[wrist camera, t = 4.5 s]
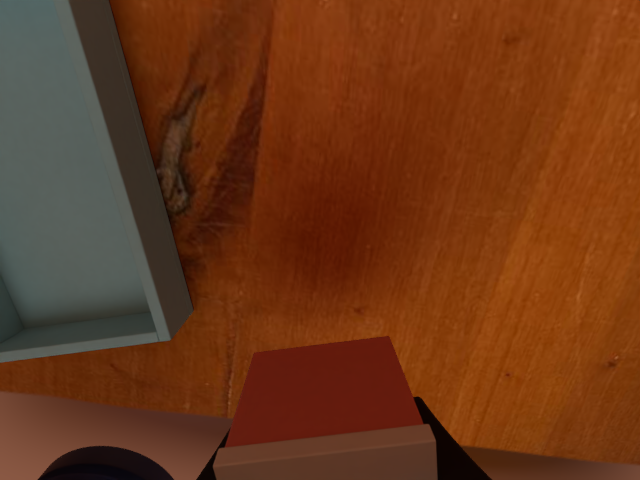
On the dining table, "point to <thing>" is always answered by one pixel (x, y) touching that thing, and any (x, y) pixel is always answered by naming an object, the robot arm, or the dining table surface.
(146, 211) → the shallow rectangular tray
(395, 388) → the two-tone cube
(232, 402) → the dining table surface
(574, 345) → the dining table surface
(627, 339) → the dining table surface
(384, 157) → the dining table surface
